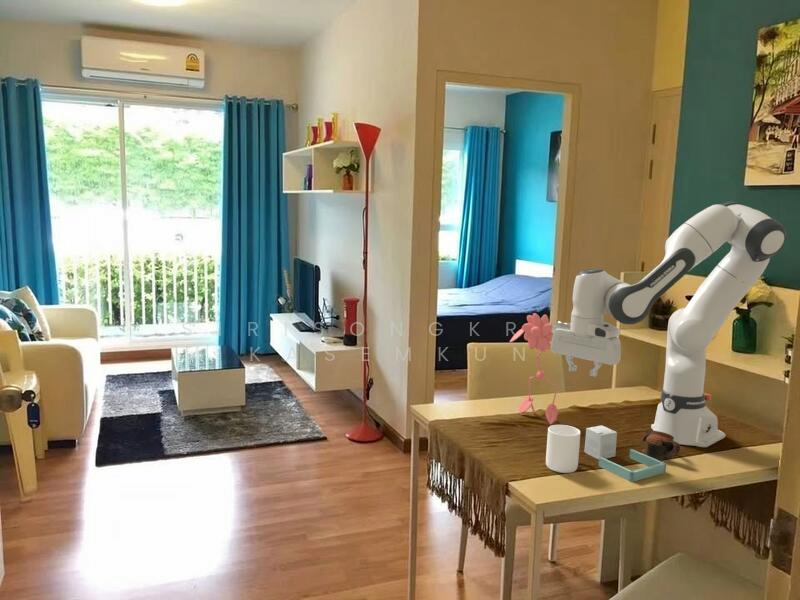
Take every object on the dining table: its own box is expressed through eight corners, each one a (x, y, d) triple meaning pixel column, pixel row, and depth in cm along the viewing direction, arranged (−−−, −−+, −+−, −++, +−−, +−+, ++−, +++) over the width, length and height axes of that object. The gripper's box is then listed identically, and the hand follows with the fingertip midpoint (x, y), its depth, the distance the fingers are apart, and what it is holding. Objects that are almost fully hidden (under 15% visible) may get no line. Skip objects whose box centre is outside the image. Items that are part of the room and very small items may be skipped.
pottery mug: (630, 455, 182) (636, 427, 185) (652, 465, 186) (657, 437, 189) (667, 460, 172) (673, 430, 174) (689, 470, 176) (694, 441, 178)
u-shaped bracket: (631, 457, 179) (632, 449, 179) (665, 472, 170) (666, 463, 170) (598, 466, 173) (599, 457, 172) (632, 481, 163) (632, 472, 163)
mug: (562, 454, 180) (565, 419, 178) (589, 463, 174) (593, 427, 173) (539, 466, 171) (542, 429, 169) (567, 476, 165) (570, 438, 164)
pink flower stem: (516, 405, 222) (521, 305, 216) (579, 427, 202) (587, 318, 196) (485, 414, 212) (489, 309, 206) (548, 438, 193) (555, 323, 187)
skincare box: (599, 449, 185) (601, 424, 184) (615, 457, 180) (618, 431, 178) (583, 452, 182) (585, 427, 181) (599, 460, 177) (601, 434, 176)
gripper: (548, 321, 187) (545, 368, 190) (615, 333, 173) (610, 383, 176) (559, 319, 192) (556, 364, 194) (625, 330, 178) (621, 379, 180)
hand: (582, 373), depth 185 cm, fingers open, 5 cm apart
